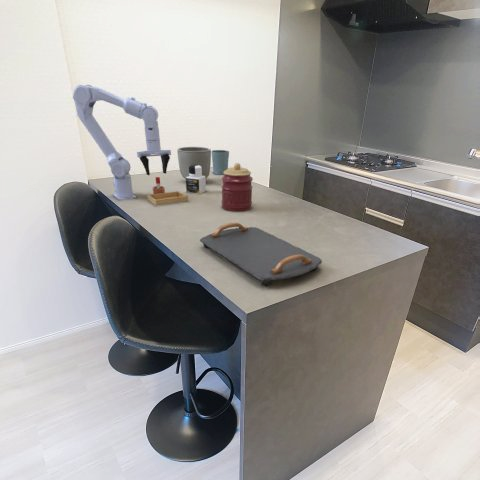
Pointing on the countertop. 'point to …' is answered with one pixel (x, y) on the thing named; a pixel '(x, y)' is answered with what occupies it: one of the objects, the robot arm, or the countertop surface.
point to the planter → (194, 159)
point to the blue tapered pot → (220, 161)
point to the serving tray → (260, 252)
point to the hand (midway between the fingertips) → (156, 173)
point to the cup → (158, 190)
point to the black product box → (195, 180)
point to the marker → (158, 182)
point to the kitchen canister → (237, 189)
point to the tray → (167, 198)
